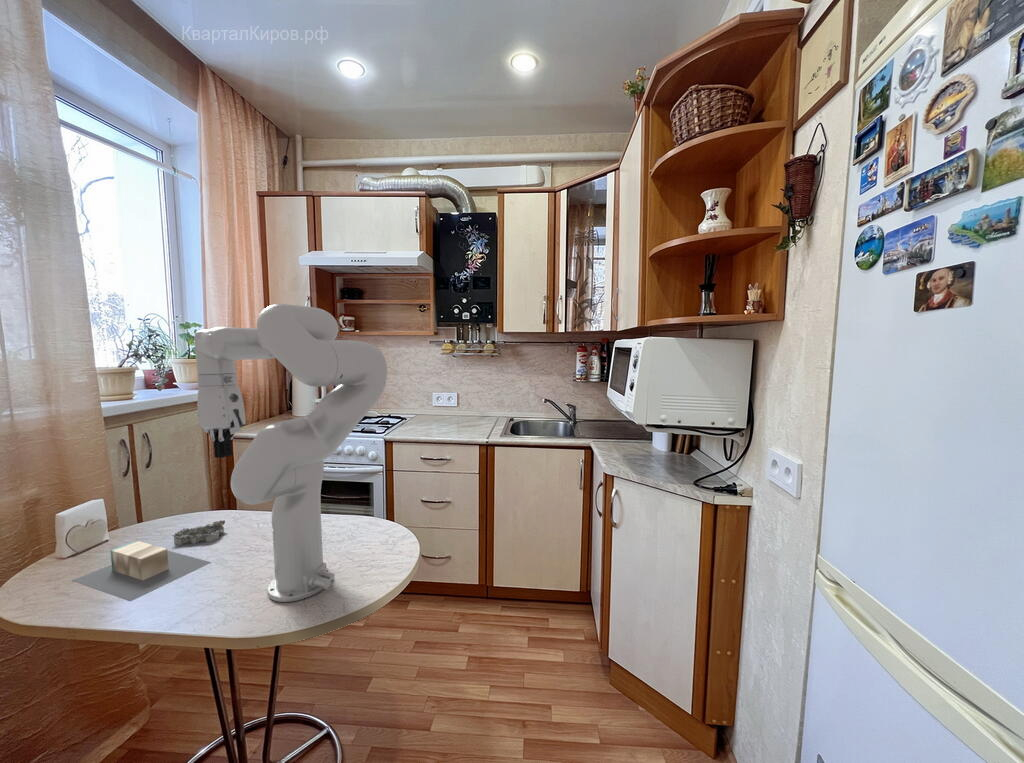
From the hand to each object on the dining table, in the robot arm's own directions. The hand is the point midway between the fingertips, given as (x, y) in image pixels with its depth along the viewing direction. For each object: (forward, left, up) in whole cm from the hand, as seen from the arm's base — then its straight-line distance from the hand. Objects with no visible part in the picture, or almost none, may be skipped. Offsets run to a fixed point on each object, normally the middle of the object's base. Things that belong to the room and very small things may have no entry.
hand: (223, 456), depth 96 cm
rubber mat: (+14, +10, -27) cm, 32 cm away
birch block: (+10, +10, -24) cm, 28 cm away
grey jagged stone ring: (+20, -5, -27) cm, 34 cm away
